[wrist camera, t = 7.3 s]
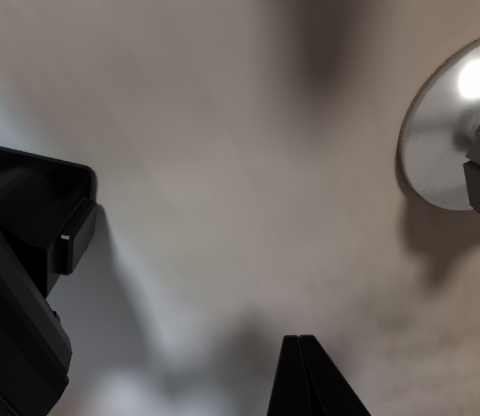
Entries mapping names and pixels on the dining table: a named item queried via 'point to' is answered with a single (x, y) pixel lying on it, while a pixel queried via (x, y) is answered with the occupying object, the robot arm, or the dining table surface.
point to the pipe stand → (443, 130)
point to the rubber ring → (473, 175)
